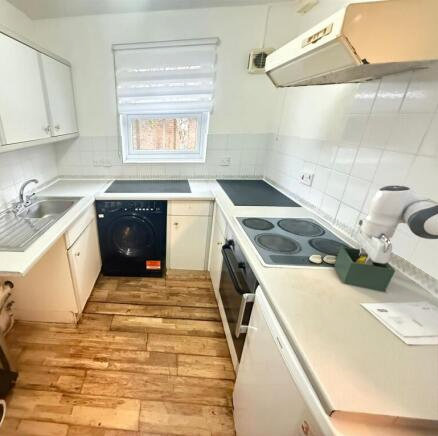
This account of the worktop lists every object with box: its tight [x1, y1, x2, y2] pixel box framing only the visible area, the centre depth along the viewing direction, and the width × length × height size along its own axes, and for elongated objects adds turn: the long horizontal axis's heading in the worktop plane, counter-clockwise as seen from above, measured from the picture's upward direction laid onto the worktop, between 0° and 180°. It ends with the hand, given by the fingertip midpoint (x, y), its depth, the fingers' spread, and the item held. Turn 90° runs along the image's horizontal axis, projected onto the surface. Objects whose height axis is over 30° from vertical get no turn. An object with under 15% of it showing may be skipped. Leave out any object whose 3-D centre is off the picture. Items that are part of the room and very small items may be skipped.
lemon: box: [355, 257, 373, 266], centre depth 94 cm, size 6×6×8 cm
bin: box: [333, 246, 396, 293], centre depth 94 cm, size 13×14×10 cm
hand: (364, 260), depth 93 cm, fingers closed on lemon, 4 cm apart
